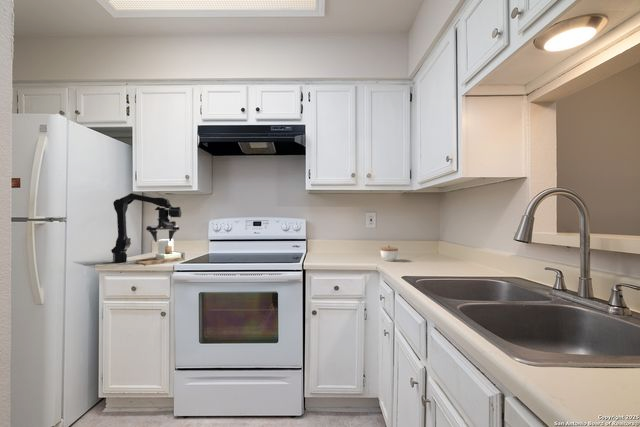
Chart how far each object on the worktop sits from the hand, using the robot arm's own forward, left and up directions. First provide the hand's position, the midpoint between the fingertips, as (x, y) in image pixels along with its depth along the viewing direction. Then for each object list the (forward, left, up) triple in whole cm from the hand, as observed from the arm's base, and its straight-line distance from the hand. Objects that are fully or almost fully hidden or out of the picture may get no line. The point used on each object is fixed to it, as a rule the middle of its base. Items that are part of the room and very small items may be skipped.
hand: (163, 241), depth 197 cm
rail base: (-3, -2, -13) cm, 13 cm away
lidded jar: (+81, -120, -13) cm, 146 cm away
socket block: (+2, -2, -11) cm, 12 cm away
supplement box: (+9, +15, -13) cm, 22 cm away
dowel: (+2, -2, -11) cm, 12 cm away
